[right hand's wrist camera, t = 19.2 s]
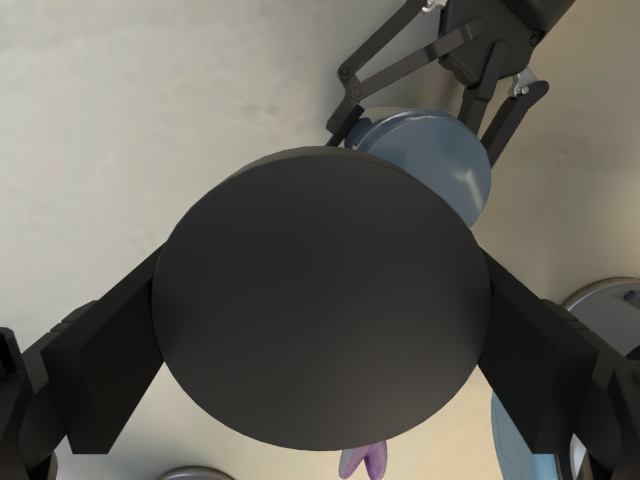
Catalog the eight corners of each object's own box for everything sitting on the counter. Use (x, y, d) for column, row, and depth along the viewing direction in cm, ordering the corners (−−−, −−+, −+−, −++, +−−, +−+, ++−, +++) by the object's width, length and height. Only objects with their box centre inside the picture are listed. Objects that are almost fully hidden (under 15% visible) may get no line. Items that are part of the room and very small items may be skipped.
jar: (429, 169, 39) (515, 223, 22) (355, 201, 41) (380, 276, 23) (402, 91, 36) (475, 80, 19) (324, 128, 38) (324, 150, 20)
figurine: (379, 328, 46) (403, 426, 32) (384, 391, 50) (408, 503, 36) (306, 336, 47) (299, 436, 33) (316, 397, 50) (314, 511, 36)
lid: (235, 89, 10) (213, 84, 8) (520, 221, 11) (564, 247, 9) (147, 348, 13) (115, 394, 11) (381, 430, 14) (391, 484, 12)
